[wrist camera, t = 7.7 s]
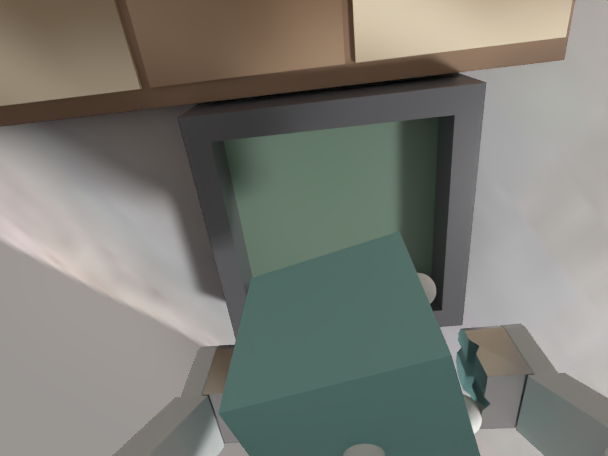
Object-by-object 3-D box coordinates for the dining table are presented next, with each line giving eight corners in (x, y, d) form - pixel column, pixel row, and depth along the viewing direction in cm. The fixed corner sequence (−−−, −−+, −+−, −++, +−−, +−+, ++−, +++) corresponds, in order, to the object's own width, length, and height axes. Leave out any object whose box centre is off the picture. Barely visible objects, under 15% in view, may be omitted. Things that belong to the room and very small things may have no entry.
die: (251, 278, 11) (213, 430, 7) (414, 226, 11) (482, 365, 6) (305, 378, 13) (302, 545, 9) (447, 342, 12) (517, 509, 8)
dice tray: (196, 105, 16) (177, 118, 14) (461, 73, 16) (486, 82, 13) (244, 308, 21) (236, 341, 19) (446, 292, 21) (462, 325, 18)
